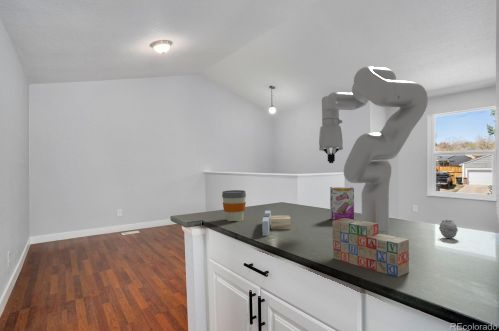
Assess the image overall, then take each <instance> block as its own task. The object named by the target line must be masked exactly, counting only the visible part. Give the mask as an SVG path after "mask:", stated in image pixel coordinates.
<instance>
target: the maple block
mask: <svg viewBox="0 0 499 331" xmlns="http://www.w3.org/2000/svg"><path fill="white" fill-rule="evenodd" d="M291 221H292V220H291V216H290V215H271V225H270V230H291V229H292V226H291V225H292V224H291V223H292V222H291Z"/></svg>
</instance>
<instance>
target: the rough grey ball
mask: <svg viewBox="0 0 499 331" xmlns="http://www.w3.org/2000/svg"><path fill="white" fill-rule="evenodd" d="M438 230H439V232H440V234H441V235H442V236H443V237H444V238H445V239H454V238H456V236H457V234H458V227H457V224H455V222H454V220H451V219H441V223H440V224H439V227H438Z"/></svg>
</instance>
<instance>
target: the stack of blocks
mask: <svg viewBox="0 0 499 331" xmlns="http://www.w3.org/2000/svg"><path fill="white" fill-rule="evenodd" d="M331 222H332V224H331V225H332V239H333V240H332V241H333V242H332V246H333V248H332V252H333V253H332V254H333V259H336V260H339V261H341V262H345V263H348V264H351V265H355V266H359V267H362V268H366V269H369V270H371V271H375V272H378V273H382V274H386V275H389V276H391V277H396V278H399V277H401V276H403V275H406V274H407V273H409V272H410V255H409V254H410V253H409V252H410V240H409V238H405V237H404V238H403V237H398V236H394V235H390V234H389V235H384V234H378V223H372V222H366V221H362V220H359V219H354V220H352V219H347V218H343V219H339V220H331Z"/></svg>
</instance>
